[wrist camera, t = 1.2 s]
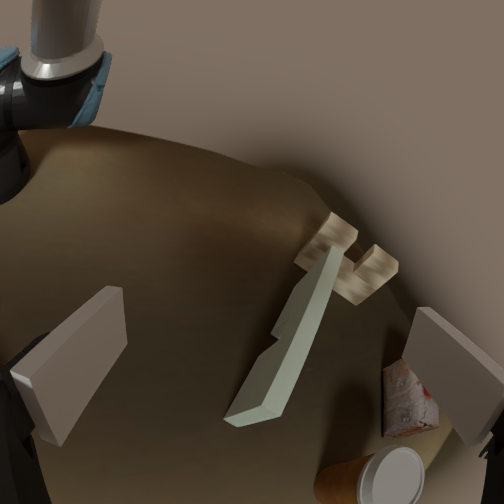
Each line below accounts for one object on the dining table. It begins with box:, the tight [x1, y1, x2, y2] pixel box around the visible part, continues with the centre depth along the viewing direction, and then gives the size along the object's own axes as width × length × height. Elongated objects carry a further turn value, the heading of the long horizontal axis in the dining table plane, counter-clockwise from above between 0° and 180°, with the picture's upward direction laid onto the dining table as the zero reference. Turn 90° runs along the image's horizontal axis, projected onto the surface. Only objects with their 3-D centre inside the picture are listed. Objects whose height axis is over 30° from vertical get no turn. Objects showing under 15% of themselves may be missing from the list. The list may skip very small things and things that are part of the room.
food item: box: [382, 359, 439, 439], centre depth 36 cm, size 14×8×10 cm, turn 170°
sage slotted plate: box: [223, 245, 344, 427], centre depth 34 cm, size 24×2×11 cm, turn 153°
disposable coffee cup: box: [314, 445, 424, 504], centre depth 23 cm, size 10×10×12 cm
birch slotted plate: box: [294, 212, 398, 306], centre depth 47 cm, size 14×2×11 cm, turn 63°
